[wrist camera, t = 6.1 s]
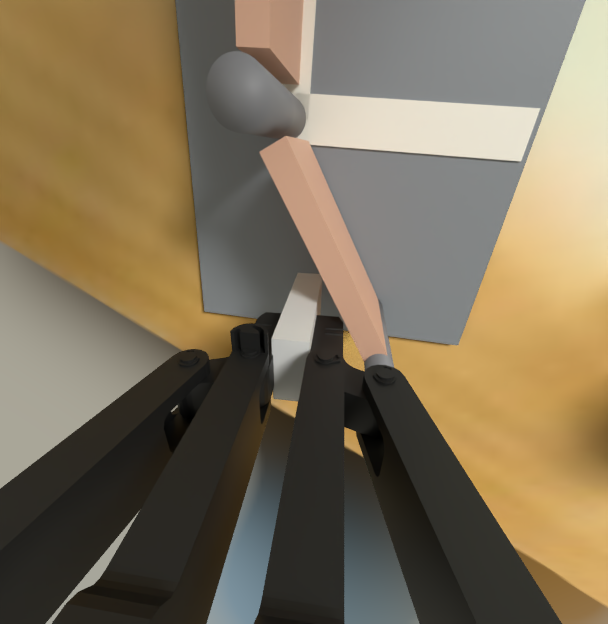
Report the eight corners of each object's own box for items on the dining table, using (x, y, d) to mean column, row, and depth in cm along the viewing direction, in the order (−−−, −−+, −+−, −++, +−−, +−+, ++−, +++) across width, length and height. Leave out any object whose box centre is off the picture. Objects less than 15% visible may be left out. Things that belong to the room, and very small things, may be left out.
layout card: (154, -289, 10) (144, -308, 10) (695, -317, 9) (714, -342, 8) (206, 308, 20) (203, 312, 20) (456, 341, 19) (458, 346, 18)
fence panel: (288, 152, 15) (250, 154, 9) (310, 140, 14) (284, 132, 9) (366, 318, 18) (371, 389, 13) (385, 311, 18) (399, 381, 13)
